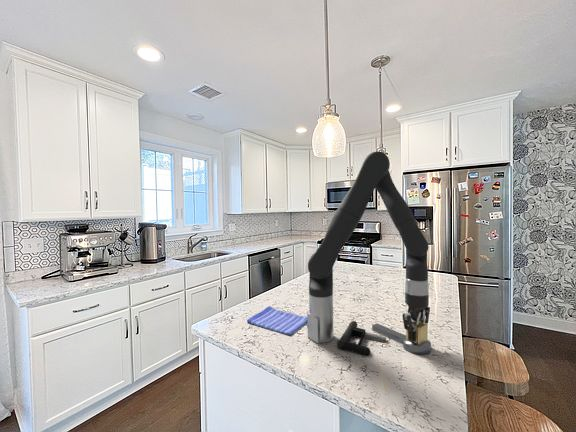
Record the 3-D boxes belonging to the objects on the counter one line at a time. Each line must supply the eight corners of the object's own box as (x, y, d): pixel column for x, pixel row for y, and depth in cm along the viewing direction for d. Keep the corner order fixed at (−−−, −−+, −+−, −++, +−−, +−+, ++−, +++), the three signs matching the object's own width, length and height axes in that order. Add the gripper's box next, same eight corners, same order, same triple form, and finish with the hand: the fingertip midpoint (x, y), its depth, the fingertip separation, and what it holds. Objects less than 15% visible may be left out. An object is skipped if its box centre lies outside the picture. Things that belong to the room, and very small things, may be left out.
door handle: (388, 328, 105) (348, 318, 113) (380, 354, 88) (333, 340, 95) (387, 336, 106) (348, 326, 113) (379, 364, 88) (333, 349, 95)
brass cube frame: (419, 345, 91) (419, 328, 91) (406, 339, 95) (406, 322, 95) (427, 340, 94) (427, 324, 94) (414, 335, 98) (414, 319, 98)
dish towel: (269, 310, 132) (268, 305, 132) (311, 321, 119) (310, 315, 119) (245, 323, 118) (245, 317, 118) (290, 337, 105) (290, 330, 105)
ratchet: (422, 358, 88) (422, 337, 88) (367, 332, 107) (367, 315, 107) (436, 349, 94) (436, 329, 93) (381, 326, 112) (381, 309, 112)
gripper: (417, 285, 101) (417, 328, 102) (395, 292, 93) (395, 340, 94) (437, 290, 95) (437, 336, 96) (415, 298, 87) (415, 349, 87)
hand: (416, 338), depth 95 cm, fingers closed on brass cube frame, 5 cm apart
